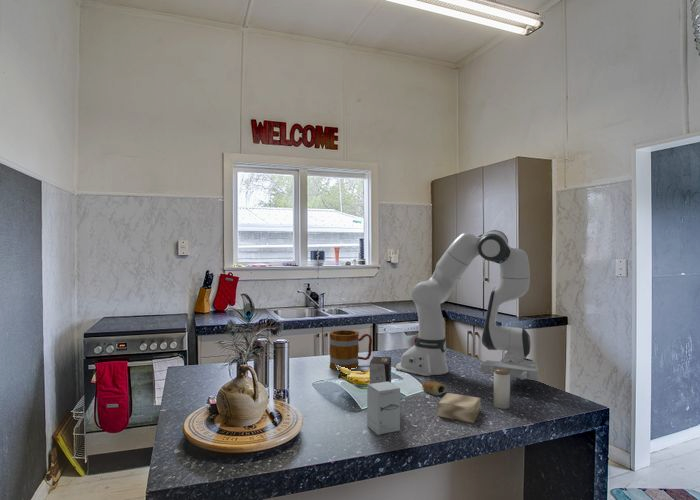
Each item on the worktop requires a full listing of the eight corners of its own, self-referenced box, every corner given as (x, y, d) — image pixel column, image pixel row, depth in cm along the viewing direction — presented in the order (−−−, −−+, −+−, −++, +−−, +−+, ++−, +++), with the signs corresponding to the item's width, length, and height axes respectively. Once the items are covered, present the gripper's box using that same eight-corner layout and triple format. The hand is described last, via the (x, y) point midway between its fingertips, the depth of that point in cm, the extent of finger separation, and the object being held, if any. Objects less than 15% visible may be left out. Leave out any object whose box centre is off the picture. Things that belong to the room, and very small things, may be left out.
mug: (333, 371, 182) (333, 336, 182) (326, 363, 195) (326, 330, 195) (376, 368, 187) (376, 334, 187) (367, 360, 200) (367, 328, 200)
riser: (437, 416, 134) (437, 402, 134) (447, 404, 144) (447, 392, 144) (473, 422, 129) (473, 408, 129) (480, 410, 139) (480, 397, 139)
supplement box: (378, 435, 120) (378, 391, 120) (366, 425, 127) (366, 383, 127) (400, 431, 123) (400, 387, 123) (388, 421, 130) (388, 380, 130)
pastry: (417, 389, 160) (417, 379, 160) (430, 386, 164) (430, 376, 164) (435, 396, 152) (435, 386, 152) (448, 393, 156) (449, 383, 156)
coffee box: (388, 414, 136) (388, 363, 135) (368, 412, 137) (368, 362, 137) (391, 404, 144) (391, 356, 144) (373, 402, 146) (373, 355, 146)
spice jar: (492, 407, 142) (492, 370, 142) (494, 402, 146) (495, 367, 146) (508, 409, 139) (509, 373, 139) (510, 404, 144) (511, 369, 144)
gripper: (484, 354, 170) (477, 363, 158) (540, 361, 161) (537, 370, 149) (484, 370, 170) (477, 380, 158) (540, 377, 161) (537, 388, 149)
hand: (506, 375), depth 153 cm, fingers open, 8 cm apart
